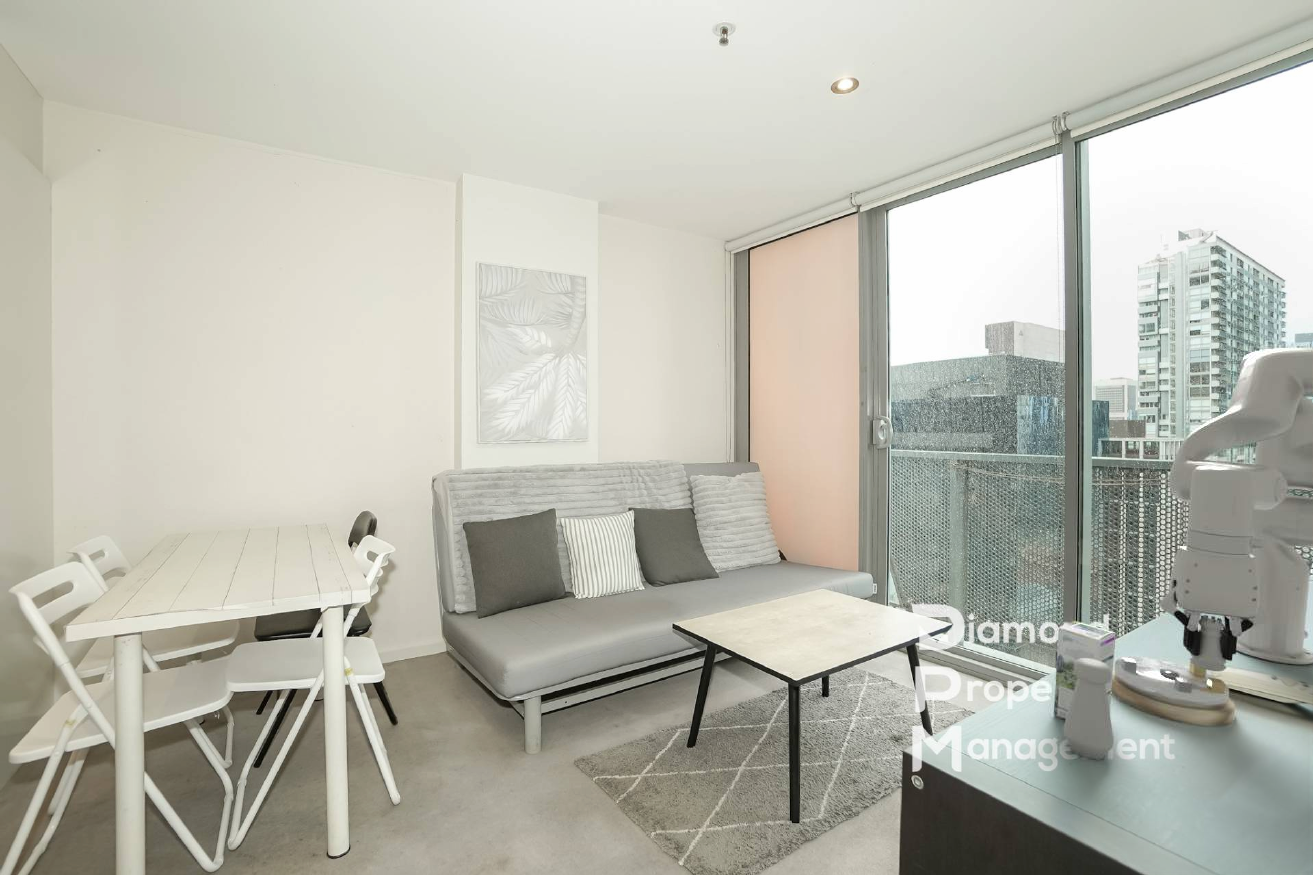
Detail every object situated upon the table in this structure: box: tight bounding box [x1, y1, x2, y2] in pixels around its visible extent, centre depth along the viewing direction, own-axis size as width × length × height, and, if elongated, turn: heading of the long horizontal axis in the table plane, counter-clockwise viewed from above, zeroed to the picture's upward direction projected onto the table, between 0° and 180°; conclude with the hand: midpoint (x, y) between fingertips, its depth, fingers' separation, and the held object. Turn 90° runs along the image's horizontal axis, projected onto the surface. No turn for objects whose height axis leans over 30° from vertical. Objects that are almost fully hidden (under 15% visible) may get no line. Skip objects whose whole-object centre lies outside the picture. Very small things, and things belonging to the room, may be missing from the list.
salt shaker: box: [1063, 658, 1115, 761], centre depth 85 cm, size 6×6×13 cm
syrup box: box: [1053, 620, 1116, 721], centre depth 93 cm, size 6×6×14 cm
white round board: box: [1113, 656, 1230, 710], centre depth 100 cm, size 14×14×4 cm
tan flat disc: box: [1111, 668, 1236, 727], centre depth 100 cm, size 16×16×2 cm
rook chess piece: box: [1189, 614, 1227, 672], centre depth 98 cm, size 4×4×8 cm
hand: (1208, 653), depth 98 cm, fingers closed on rook chess piece, 3 cm apart
